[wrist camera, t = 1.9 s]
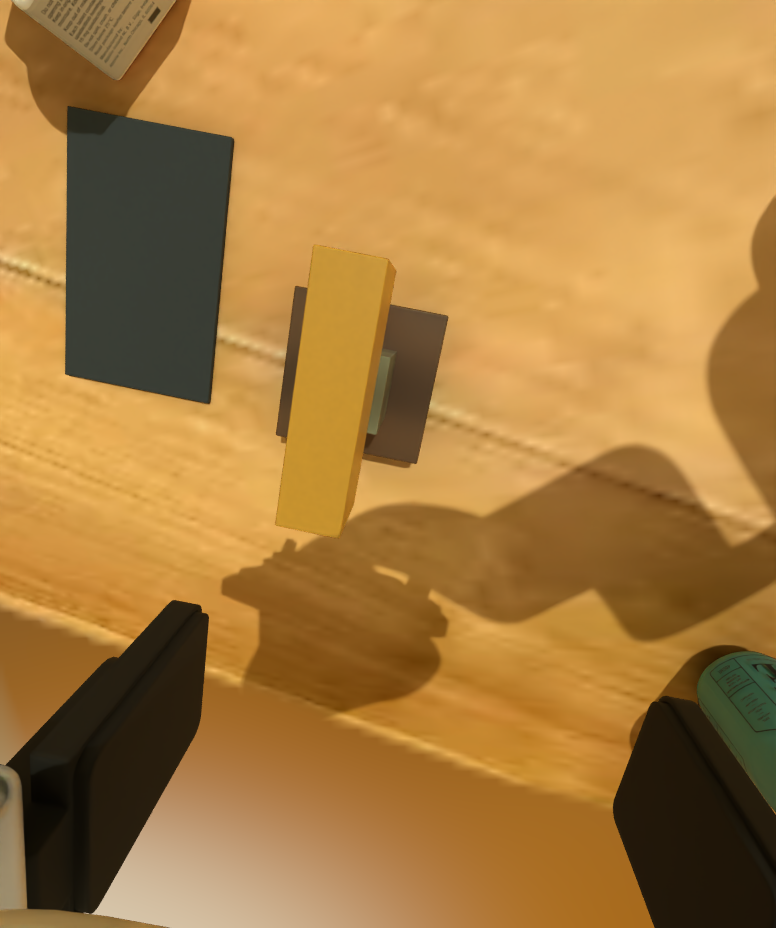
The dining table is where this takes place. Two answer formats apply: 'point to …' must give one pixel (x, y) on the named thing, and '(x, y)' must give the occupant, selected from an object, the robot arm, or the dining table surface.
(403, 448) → the square knob plate
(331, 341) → the bar
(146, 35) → the container
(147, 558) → the dining table surface
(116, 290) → the mat
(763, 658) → the beverage bottle
